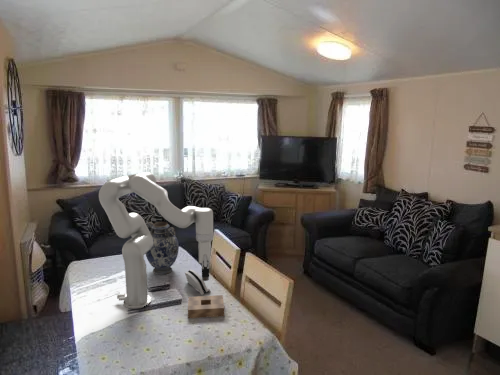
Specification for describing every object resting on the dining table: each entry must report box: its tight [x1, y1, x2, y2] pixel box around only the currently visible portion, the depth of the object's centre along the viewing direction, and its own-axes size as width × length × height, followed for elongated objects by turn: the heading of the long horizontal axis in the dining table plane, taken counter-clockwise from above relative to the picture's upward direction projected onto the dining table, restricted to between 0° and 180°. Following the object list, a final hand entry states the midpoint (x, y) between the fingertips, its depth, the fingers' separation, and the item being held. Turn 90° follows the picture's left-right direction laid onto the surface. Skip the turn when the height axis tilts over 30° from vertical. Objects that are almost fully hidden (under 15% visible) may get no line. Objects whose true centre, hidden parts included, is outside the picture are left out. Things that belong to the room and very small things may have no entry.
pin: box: [201, 260, 210, 282], centre depth 171 cm, size 3×3×10 cm
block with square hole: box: [187, 294, 225, 319], centre depth 175 cm, size 16×12×4 cm
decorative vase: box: [144, 221, 180, 276], centre depth 214 cm, size 21×19×28 cm
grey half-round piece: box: [184, 269, 211, 296], centre depth 196 cm, size 17×5×10 cm, turn 34°
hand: (205, 274), depth 172 cm, fingers closed on pin, 3 cm apart
